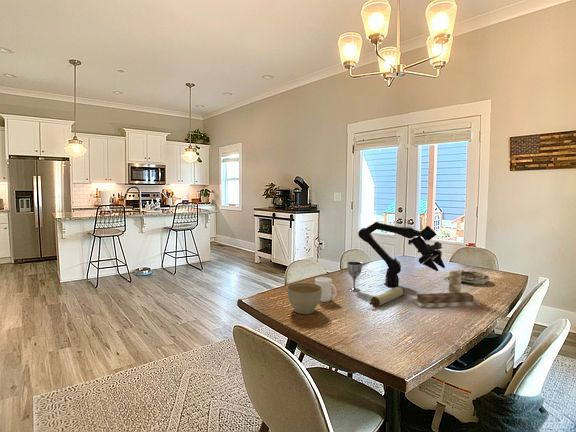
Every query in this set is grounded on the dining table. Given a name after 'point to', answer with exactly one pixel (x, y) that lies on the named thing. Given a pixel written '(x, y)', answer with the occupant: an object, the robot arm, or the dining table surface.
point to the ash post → (455, 281)
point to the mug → (326, 288)
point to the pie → (472, 277)
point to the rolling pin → (387, 296)
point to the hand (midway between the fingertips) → (441, 269)
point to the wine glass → (354, 273)
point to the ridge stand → (445, 300)
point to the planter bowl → (304, 297)
